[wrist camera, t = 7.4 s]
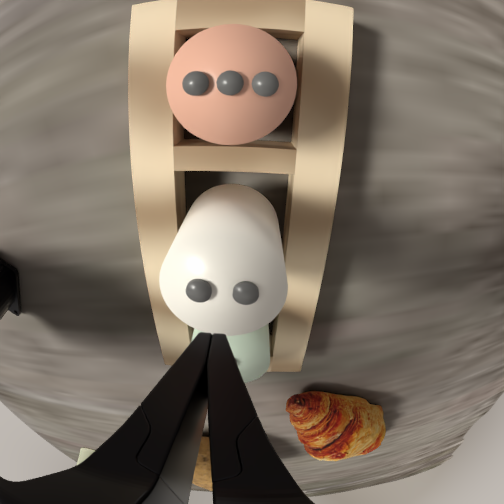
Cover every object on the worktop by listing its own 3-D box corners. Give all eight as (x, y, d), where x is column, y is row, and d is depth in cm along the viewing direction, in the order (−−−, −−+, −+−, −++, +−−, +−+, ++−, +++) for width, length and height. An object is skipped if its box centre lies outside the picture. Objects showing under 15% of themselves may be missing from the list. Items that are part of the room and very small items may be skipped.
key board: (297, 350, 25) (300, 371, 23) (170, 343, 25) (165, 364, 23) (340, 17, 12) (353, 8, 10) (147, 14, 12) (132, 5, 10)
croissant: (384, 406, 37) (419, 433, 30) (339, 453, 36) (368, 485, 29) (305, 348, 29) (352, 388, 22) (241, 416, 28) (271, 468, 21)
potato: (203, 412, 31) (195, 472, 24) (277, 446, 36) (279, 494, 29) (157, 428, 34) (146, 478, 27) (228, 459, 39) (226, 502, 32)
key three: (281, 131, 16) (293, 149, 11) (193, 129, 16) (165, 146, 11) (286, 47, 13) (300, 26, 9) (195, 46, 13) (166, 26, 8)
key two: (274, 268, 17) (280, 341, 13) (189, 265, 17) (166, 334, 12) (282, 186, 15) (295, 237, 10) (184, 182, 15) (149, 231, 10)
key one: (265, 329, 23) (266, 387, 19) (202, 326, 23) (192, 383, 18) (270, 278, 21) (273, 338, 16) (199, 275, 21) (183, 333, 16)
